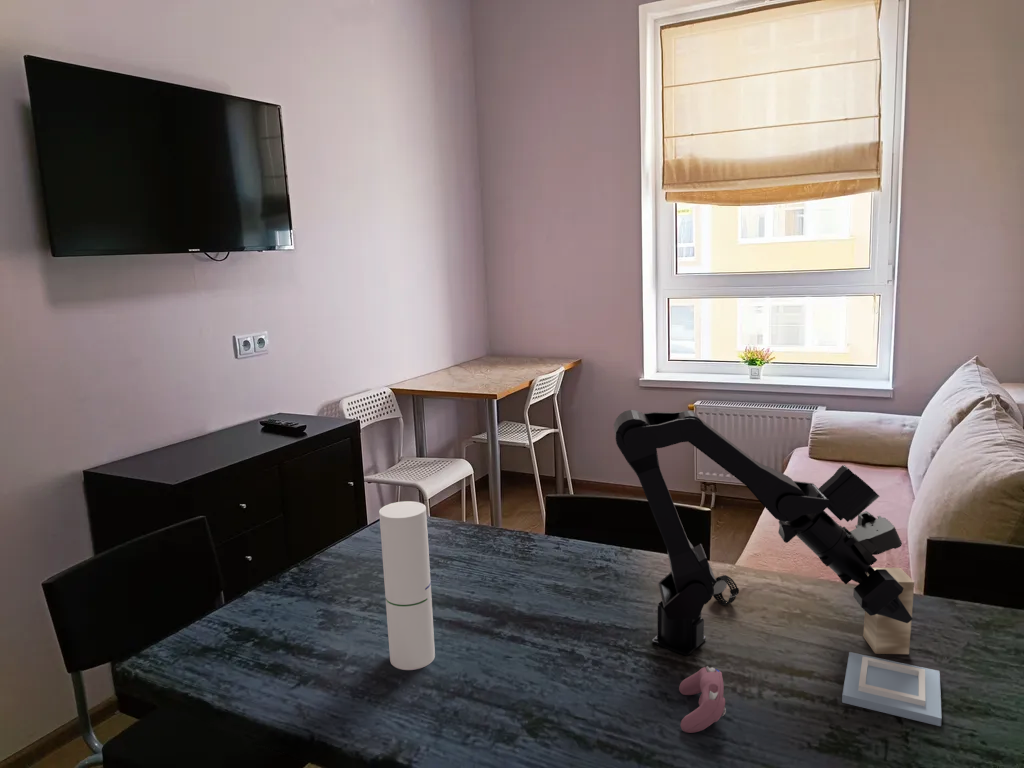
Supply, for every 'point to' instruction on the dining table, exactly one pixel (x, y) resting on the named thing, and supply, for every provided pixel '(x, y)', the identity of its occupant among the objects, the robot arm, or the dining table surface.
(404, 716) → the dining table surface
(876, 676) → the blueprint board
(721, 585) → the smartwatch
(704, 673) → the video game controller
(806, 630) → the dining table surface
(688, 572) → the robot arm
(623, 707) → the dining table surface
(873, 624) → the maple pillar
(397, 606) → the cylindrical container
